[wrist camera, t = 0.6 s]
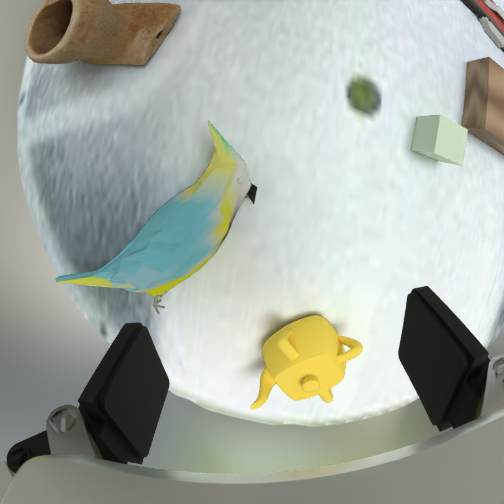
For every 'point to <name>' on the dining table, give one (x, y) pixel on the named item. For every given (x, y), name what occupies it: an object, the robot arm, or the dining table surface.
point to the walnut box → (485, 102)
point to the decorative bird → (179, 230)
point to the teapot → (305, 360)
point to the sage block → (440, 139)
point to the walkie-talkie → (489, 19)
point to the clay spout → (97, 31)
